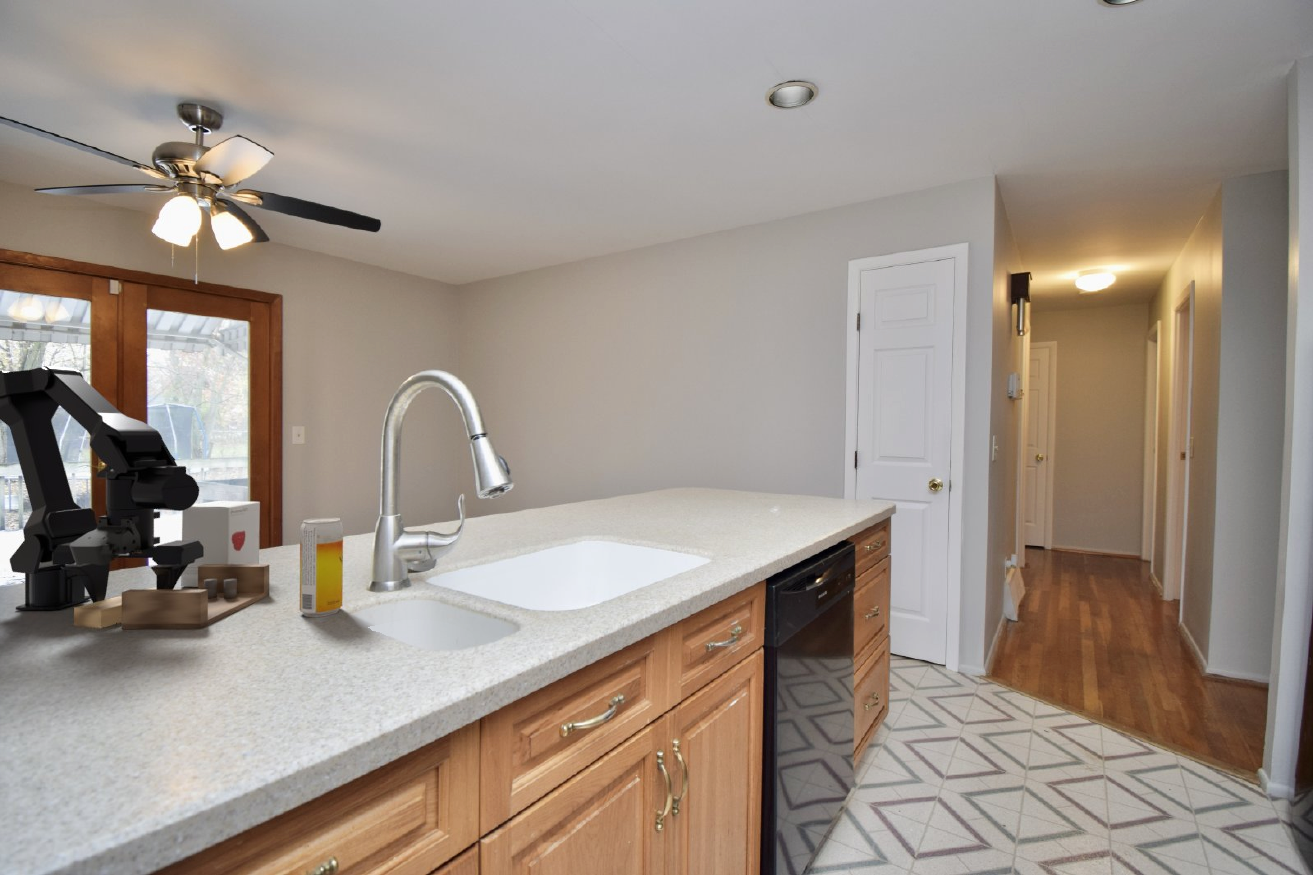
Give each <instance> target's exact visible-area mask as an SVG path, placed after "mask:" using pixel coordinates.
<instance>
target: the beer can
mask: <svg viewBox="0 0 1313 875" xmlns="http://www.w3.org/2000/svg"><path fill="white" fill-rule="evenodd" d="M299 530H300V531H299V532H300V533H299V535H300V536H299V611H300V613H302V614H303V616H305V617H308V618H309V617H310V618H320V617H326V616H327V617H328V616H332V615H334V614H336V613H338V612H339V610H340V609H341V607H343V589H344V588H343V587H344V586H343V581H344V580H343V578H344V576H343V571H344V569H343V568H344V564H343V562H344V561H343V560H344V525H343V523H342V521H341V518H340V517H329V516H328V517H314V518H308V519H307V518H306V519H304V520H302V524H301V526H300V529H299Z"/></svg>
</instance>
